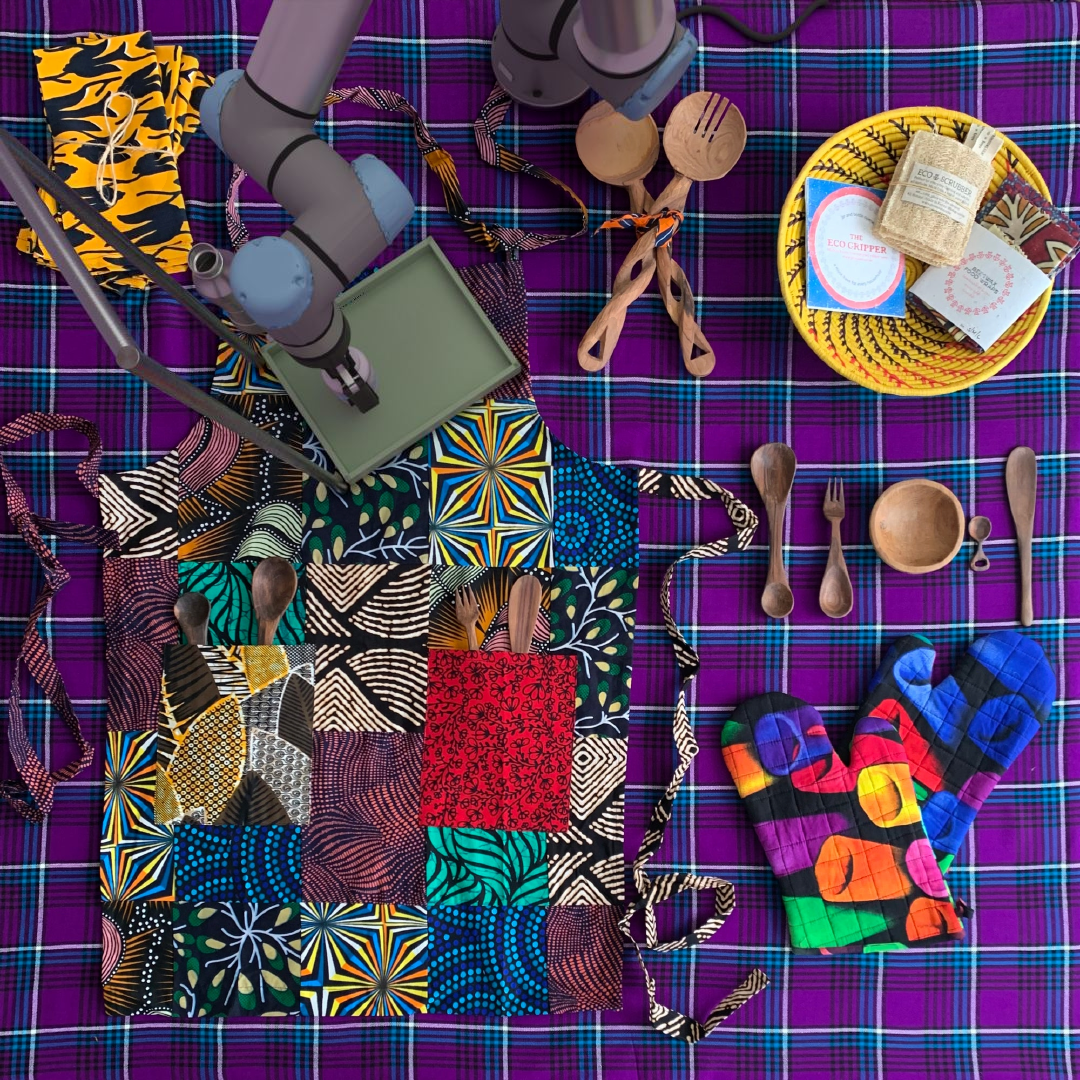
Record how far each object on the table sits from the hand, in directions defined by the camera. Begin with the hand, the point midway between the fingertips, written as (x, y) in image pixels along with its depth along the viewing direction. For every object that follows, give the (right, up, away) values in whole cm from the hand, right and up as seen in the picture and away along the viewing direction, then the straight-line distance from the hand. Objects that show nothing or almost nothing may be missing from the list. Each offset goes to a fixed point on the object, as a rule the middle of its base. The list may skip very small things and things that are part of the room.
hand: (355, 381), depth 121 cm
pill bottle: (0, 0, +2) cm, 2 cm away
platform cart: (+4, +2, +2) cm, 5 cm away
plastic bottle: (-14, +10, +4) cm, 17 cm away
